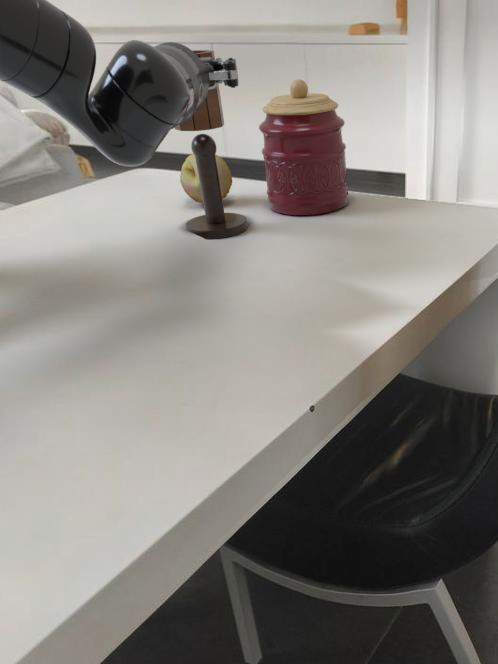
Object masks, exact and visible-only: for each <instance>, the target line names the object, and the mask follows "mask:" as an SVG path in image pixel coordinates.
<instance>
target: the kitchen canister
mask: <svg viewBox="0 0 498 664" xmlns="http://www.w3.org/2000/svg"><path fill="white" fill-rule="evenodd" d="M289 93H290V94H282V95H278V96H274V97H272V98H271V99H270V101H269V102H268V103H267V104H266V105H264V106H263V107H262V112H263V113H264V114H265V118H264V120H263V121H262V122H261V123H260V124H259V126H258V129H259V131H260V132H261V133H262V135H263V148H262V149H261V153H262V155H263V165H264V171H265V179H266V181H265V182H266V195H267V201H268V203H269V208H270V209H271V211H273V212H276V213H278V214H282V215H289V216H313V215H321V214H322V215H323V214H326V213H331V212H335V211H337V210H340V209H342V208H344V207H345V206H346V205H347V203H348V197H349V185H348V183H347V182H348V181H347V180H348V179H347V164H346V163H347V161H346V148H347V145H346V144H345V142H344V141H343V133H342V129H343V128H344V126H345V124H346V122H345V120H344V119H343V118H342V117H341V116H340V115H338V113H337V111H336V110H337V109H338V108H339V103H338V102H336V101H335V100H333V99H331V97H329V95H328V94H325V93H324V94H323V93H317V92H316V93H315V92H313V93H311V92H310V93H309V89H308V85H307V83H306V81H305V80H303V79H299V78H297V79H294V80H292V81H291V83H290V86H289Z"/></svg>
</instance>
